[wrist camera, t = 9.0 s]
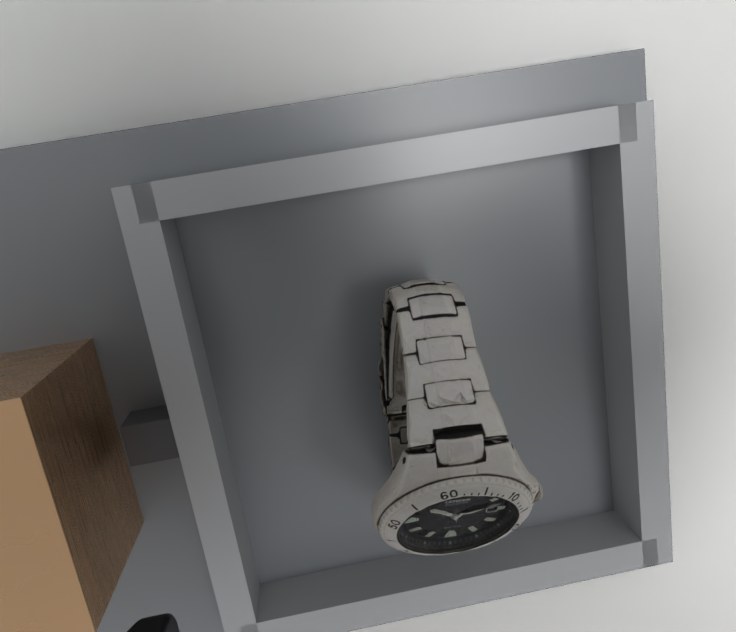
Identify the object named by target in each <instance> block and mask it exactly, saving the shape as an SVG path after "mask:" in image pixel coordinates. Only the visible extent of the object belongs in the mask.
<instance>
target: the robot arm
mask: <svg viewBox="0 0 736 632" xmlns="http://www.w3.org/2000/svg"><path fill="white" fill-rule="evenodd" d="M127 632H180V631H179V627H178V624H177V621H176V619H175V617H174V616H173V615H172V614H170V613H165V614H160V615H155V616H150V617H145V618H142V619H140V620H138V621H137V622H136V623H135V624H134V625H133V626H132V627H131V628H130V629H129V630H128V631H127Z"/></svg>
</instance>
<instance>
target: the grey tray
mask: <svg viewBox="0 0 736 632" xmlns="http://www.w3.org/2000/svg"><path fill="white" fill-rule="evenodd" d="M419 279H432V280H440V281H450V282H455V283H456V284H458V286H459V287H460V289H461V291H462V293H463V295H464V297H465V302H466V306H468V310H469V313H470V317H471V323H472V329H473V334H474V338H475V343H476V348H477V351H478V353H479V355H480V358H481V361H482V364H483V367H484V370H485V373H486V376H487V380H488V383H489V390H490V393H491V395H492V397H493V399H494V401H495V403H496V405H497V407H498V409H499V412H500V414H501V416H502V419H503V422H504V425H505V428H506V430H507V433H508V436H507V437H506V438H508V439H509V440H510V441H511V443H512V445H513V446H514V447H515V449H516V451H517V453H518V455H519V457H520V459H521V460H522V462H523V464H524V465H525V467H526V469H527V470H528V472H529V473H530V474H532V475H533V476H534V477H535V478H536V479H537V481H538V483H539V484H540V485H541V486H542V487H543V497H542V499H541V500H540V501H535V502H534V505H533V506H532V510H531V512H530V514H529V515H528V517H527V518H526V519H525V520H524V521H523V522H522V524H521V525H520V526H518V527H517V528H516V529H514V530H513V531H512V532H510V533H509V534H508V535H506V536H505V537H504V538H501V539H499V540H497V541H495V542H493V543H491V544H489V545H486V546H483V547H481V548H478V549H473V550H469V551H464V552H459V553H453V554H447V555H417V554H411V553H407V552H403V551H399V550H397V549H395V548H393V547H391V546H389V545H388V544H387V543H386V542H384V540H383V539H382V538H381V536H380V534H379V533H378V532H377V530H376V529H375V527H374V523H373V518H372V512H371V504H372V500H373V499H374V497H375V495H376V494H377V492H378V491H379V489H380V488H381V487H382V486H383V485H384V484H385V483H386V481H387V480H388V479H389V477H390V476H391V474H392V472H391V454H390V447H389V446H388V439H389V430H388V423H387V420H386V418H385V416H383V412H382V405H381V395H380V384H379V368H378V363H379V361H380V359H381V351H382V348H381V346H380V342H381V327H380V325H379V321H380V317H381V316H382V315H383V305H382V302H384V298H385V291H386V289H388V288H390V287H393V286H397V285H401V284H403V283H405V282H408V281H410V280H419ZM668 562H673V555H672V531H671V508H670V484H669V460H668V437H667V413H666V390H665V366H664V342H663V319H662V295H661V272H660V248H659V224H658V201H657V177H656V154H655V130H654V106H653V100H648V101H647V98H646V75H645V53H644V48H643V49H637V50H631V51H624V52H618V53H611V54H605V55H599V56H592V57H586V58H580V59H573V60H567V61H561V62H554V63H548V64H541V65H535V66H529V67H522V68H516V69H510V70H503V71H497V72H491V73H484V74H478V75H471V76H465V77H459V78H452V79H446V80H440V81H433V82H427V83H421V84H414V85H408V86H401V87H395V88H389V89H382V90H376V91H370V92H363V93H357V94H351V95H344V96H338V97H331V98H325V99H319V100H312V101H306V102H300V103H293V104H287V105H281V106H274V107H268V108H261V109H255V110H249V111H242V112H236V113H230V114H223V115H217V116H211V117H204V118H198V119H191V120H185V121H179V122H172V123H166V124H160V125H153V126H147V127H141V128H134V129H128V130H121V131H115V132H109V133H102V134H96V135H90V136H83V137H77V138H71V139H64V140H58V141H51V142H45V143H39V144H32V145H26V146H20V147H13V148H7V149H1V150H0V632H127V631H128V630H129V629H130V628H131V627H132V626H133V625H134V624H135V623H136V622H137V621H138V620H140V619H142V618H145V617H150V616H155V615H160V614H165V613H170V614H172V615H173V616H174V617H175V619H176V621H177V624H178V627H179V631H180V632H348V631H353V630H357V629H362V628H367V627H371V626H376V625H381V624H385V623H390V622H395V621H399V620H404V619H409V618H413V617H418V616H422V615H427V614H432V613H436V612H441V611H446V610H450V609H455V608H460V607H464V606H469V605H474V604H478V603H483V602H487V601H492V600H497V599H501V598H506V597H511V596H515V595H520V594H525V593H529V592H534V591H538V590H543V589H548V588H552V587H557V586H562V585H566V584H571V583H576V582H580V581H585V580H590V579H594V578H599V577H603V576H608V575H613V574H617V573H622V572H627V571H631V570H636V569H641V568H645V567H650V566H655V565H659V564H664V563H668Z"/></svg>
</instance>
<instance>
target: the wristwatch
mask: <svg viewBox="0 0 736 632" xmlns="http://www.w3.org/2000/svg"><path fill="white" fill-rule="evenodd" d="M382 305H383V315H382V316H381V317H380V321H379V325H380V327H381V342H380V346H381V348H382V351H381V359H380V361H379V363H378V368H379V384H380V395H381V405H382V412H383V416H385V418H386V420H387V423H388V430H389V439H388V446H389V447H390V454H391V472H392V474H391V476H390V477H389V479H388V480H387V481H386V483H385V484H384V485H383V486H382V487H381V488H380V489H379V491H378V492H377V494H376V495H375V497H374V499H373V500H372V504H371V512H372V518H373V523H374V527H375V529H376V530H377V532H378V533H379V534H380V536H381V538H382V539H383V540H384V542H386V543H387V544H388V545H389V546H391V547H393V548H395V549H397V550H399V551H403V552H407V553H411V554H417V555H447V554H453V553H459V552H464V551H469V550H473V549H478V548H481V547H483V546H486V545H489V544H491V543H493V542H495V541H497V540H499V539H501V538H504V537H505V536H506V535H508V534H509V533H510V532H512V531H513V530H514V529H516V528H517V527H518V526H520V525H521V524H522V522H523V521H524V520H525V519H526V518H527V517H528V515H529V514H530V512H531V510H532V506H533V505H534V502H535V501H540V500H541V499H542V497H543V487H542V486H541V485H540V484H539V483H538V481H537V479H536V478H535V477H534V476H533V475H532V474H530V473H529V472H528V470H527V469H526V467H525V465H524V464H523V462H522V460H521V459H520V457H519V455H518V453H517V451H516V449H515V447H514V446H513V445H512V443H511V441H510V440H509V439H508V438H506V437H507V436H508V433H507V430H506V428H505V425H504V422H503V419H502V416H501V414H500V412H499V409H498V407H497V405H496V403H495V401H494V399H493V397H492V395H491V393H490V390H489V383H488V380H487V376H486V373H485V370H484V367H483V364H482V361H481V358H480V355H479V353H478V351H477V348H476V343H475V338H474V334H473V329H472V323H471V317H470V313H469V310H468V306H466V302H465V297H464V295H463V293H462V291H461V289H460V287H459V286H458V284H456V283H455V282H450V281H440V280H432V279H419V280H410V281H408V282H405V283H403V284H401V285H397V286H393V287H390V288H388V289H386V291H385V298H384V302H382Z"/></svg>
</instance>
